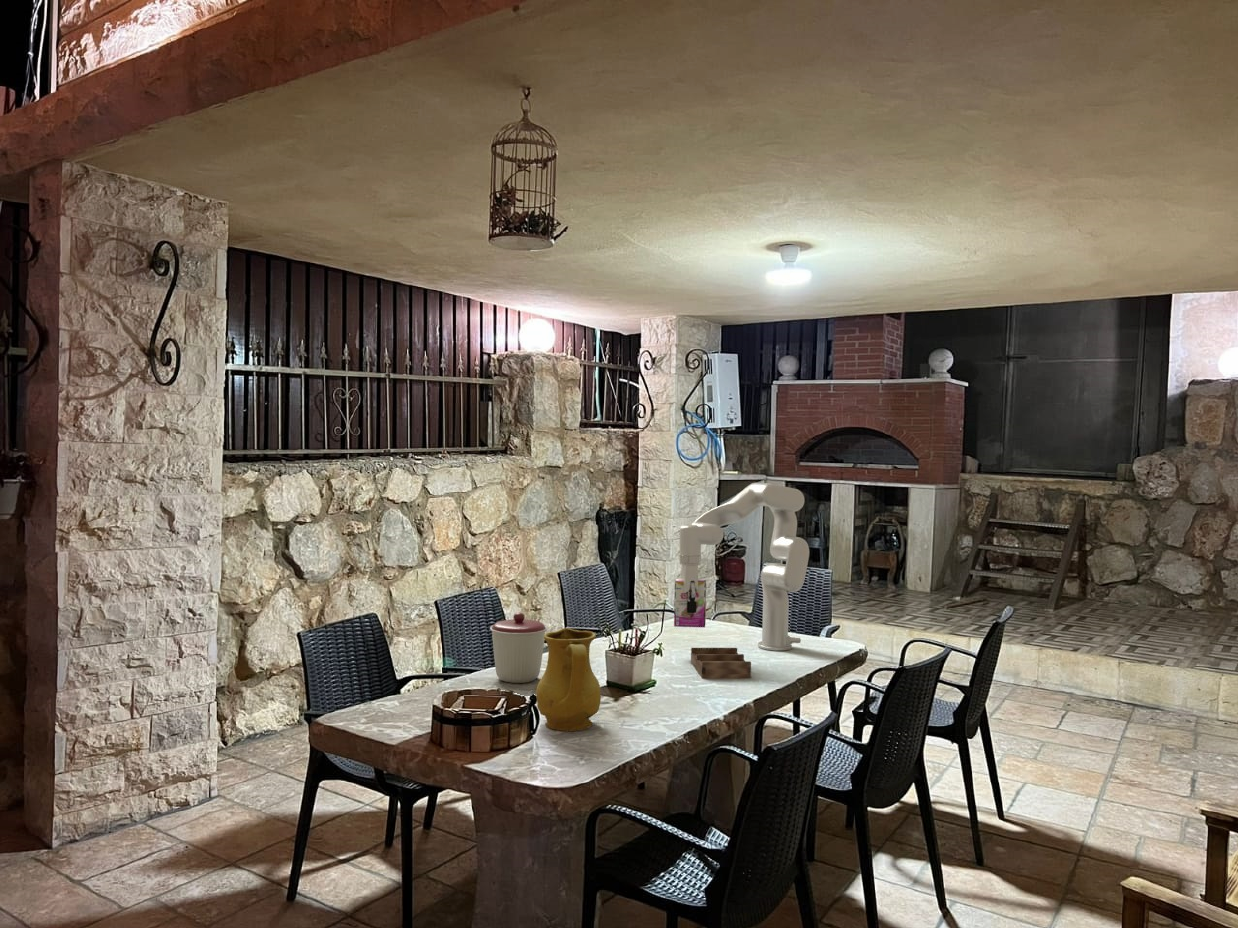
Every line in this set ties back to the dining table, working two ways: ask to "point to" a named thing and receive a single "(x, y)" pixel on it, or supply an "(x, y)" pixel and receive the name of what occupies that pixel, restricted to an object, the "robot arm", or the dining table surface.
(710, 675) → the rack
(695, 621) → the candy bar box
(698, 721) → the dining table surface
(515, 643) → the canister
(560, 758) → the dining table surface
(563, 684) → the pitcher
